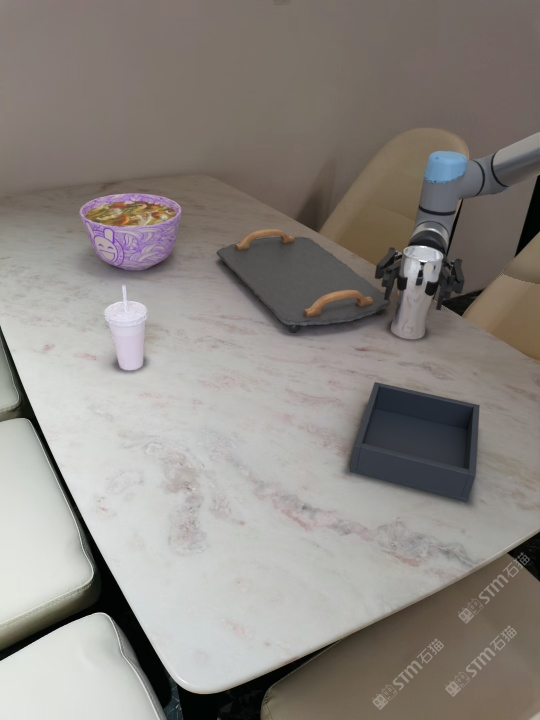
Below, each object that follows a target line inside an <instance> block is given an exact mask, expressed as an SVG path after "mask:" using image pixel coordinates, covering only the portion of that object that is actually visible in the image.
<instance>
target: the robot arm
mask: <svg viewBox="0 0 540 720" xmlns="http://www.w3.org/2000/svg"><path fill="white" fill-rule="evenodd" d="M538 176H540V131H537V132H536V133H534V134H531V135H529V136H527V137H525V138H523V139H521V140H519V141H516V142H514V143H512V144H510V145H507V146H505V147H504V148H501V149H499V150H497V151H495V152H493V153H490V154H488V155H486V156H484V157H480V158H474V159H467V156H465V154H463V153H460V152H457V151H452V150H438V151H433V152H431V154H430V155H429V156H428V158H427V162H426V166H425V169H424V172H423V180H422V186H421V191H420V196H419V202H418V207H417V211H416V216H415V221H414V226H413V230H412V233H411V235H410V237H409V241H408V244H407V246H406V248H407V247H409V246H426V247H431V248H434V249H436V250H438V251H440V252H441V253H442V254H443V261H442V268H441V275H440V280H439V284H438V287H440V288H439V292H438V298H437V301H436V307H435V310H436V311H442V305H443V301H444V299H446V300H450V299H451V296H452V293H453V292H454V293H455V294H457V295H460V294H463V290H464V286H465V281H466V279H465V276H464V272H463V270H462V264H463V259H461V258H456V259H453V260H449V258H448V256H447V253H448V248H449V243H450V238H451V234H452V231H453V226H454V221H455V215H456V212H457V207H458V204H459V201H460V200H466V199H471V198H476V197H481V196H487V195H492V196H493V195H497V194H500V193H502V192H505V191H507V190H509V189H511V187H513V186H514V185H517V184H520V183H521V182H525V181H527V180H530V179H533V178H535V177H538ZM402 255H403V251H402V252H401V251H398V250H396V248H395V247H392V246H391V247H388V251H387V253H386V254H385V255H384V256H383V258H381V259H380V261H378V263H376V266H375V272H374V278H375V279H376V280H381V279H382V280H381V288H385V290H384V291H385V292H384V294H385V296H384V300H389V299H390V297H391V294H392V292H393V289H394V286H395V281H396V280H397V277H398V271H399V266H400V263H401V259H402ZM447 269H448V270H447Z"/></svg>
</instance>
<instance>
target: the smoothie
mask: <svg viewBox="0 0 540 720" xmlns="http://www.w3.org/2000/svg"><path fill="white" fill-rule="evenodd" d="M121 289H122V300H121V301H117V302H113V303H111V304H110V305H108V306H107V307H106V308H105V309H104V311H103V314H104V320H105V322H106V323H107V324H108V325H107V326H108V329H109V333H110V336H111V340H112V343H113V347H114V352H115V354H116V358H117V363H118V366H119V368H120V369H122V370H124V371H136V370H138V369H140V368H141V367H143V365H144V355H145V354H144V353H145V341H146V339H145V338H146V326H147V325H146V323H147V322H146V321H147V319H148V317H149V314H148V313H149V312H148V307H147V306H146V305H145V304H144V303H141V302H139V301H134V300H128V294H127V293H128V292H127V285H126V284H123V285H121Z"/></svg>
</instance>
